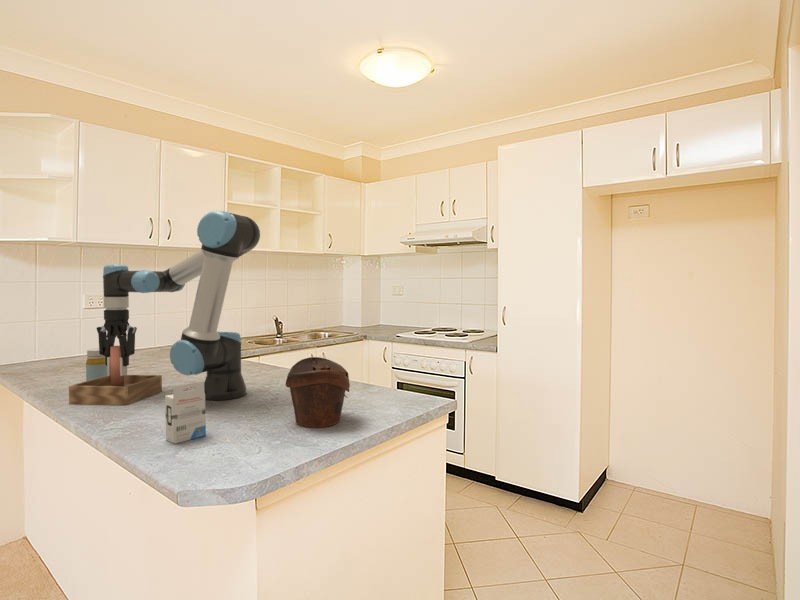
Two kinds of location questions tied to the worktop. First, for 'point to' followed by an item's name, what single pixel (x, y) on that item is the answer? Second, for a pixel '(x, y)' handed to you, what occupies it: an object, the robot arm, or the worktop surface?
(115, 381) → the peg
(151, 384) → the crate
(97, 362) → the bottle
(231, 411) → the worktop surface
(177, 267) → the robot arm
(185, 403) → the ink box
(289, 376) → the chocolate muffin
